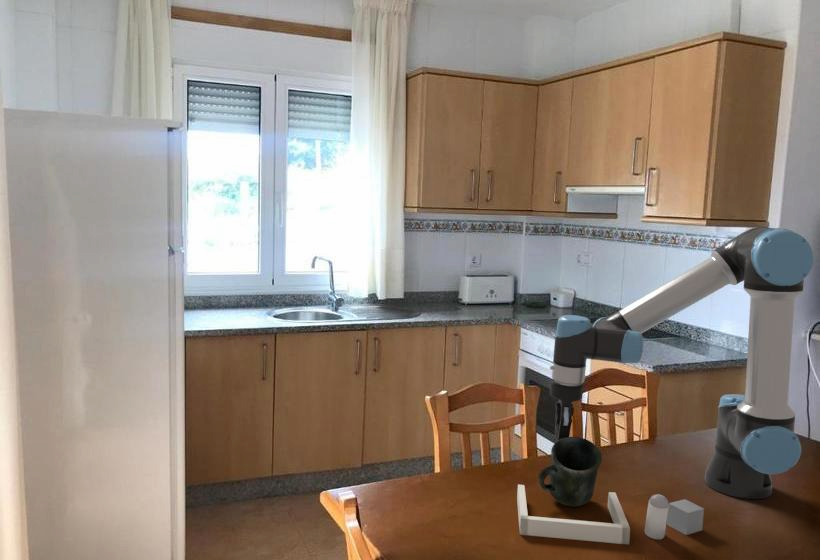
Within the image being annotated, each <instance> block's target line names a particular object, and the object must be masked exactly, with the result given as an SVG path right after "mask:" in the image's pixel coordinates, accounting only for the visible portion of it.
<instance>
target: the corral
mask: <svg viewBox="0 0 820 560" xmlns="http://www.w3.org/2000/svg"><path fill="white" fill-rule="evenodd" d="M516 491H517V494H516V495H517V496H516V501H517V503H516V504H517V513H518V514H517V515H518V516H517V517H518V525H519V527H518V528H519V529H518V530H519V535H521V536H529V537H530V536H531V537H540V538H541V537H544V538H554V539H563V540H564V539H565V540H574V541H575V540H576V541H587V542H597V543H607V544H609V543H610V544H618V545H630V537H631V536H630V535H631V527H630V524H629V522H628V520H627V517H626V515H625V512H624V510H623V507H622V505H621V503H620V501H619V498H618V496H617V493H616V491H615V492H614V491H613V492H611V491H608V496H607V506H606V507H607V509H608V511H609V514H610V517H611V520H612V522H613V523H611V522H602V521H601V522H600V521H589V520H579V519H566V518H557V517H554V518H553V517H546V516H543V517H542V516H533V515H531V516H530V515H528V507H527V506H528V505H527V498H526V495H527V494H526V487H525V485H524V484H517V490H516Z"/></svg>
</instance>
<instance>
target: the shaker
mask: <svg viewBox="0 0 820 560" xmlns="http://www.w3.org/2000/svg"><path fill="white" fill-rule="evenodd" d="M668 509H669V500H668V499H667V497H665V496H664V495H662V494H658V493H657V494H653V495H651V497H650V498H649V500H648V503H647V511H646V516H645V517H646V519H645V526H644V534H645V535H646V536H647V537H649V538H651V539H653V540H662V539H664V538H665V535H666V529H667V518H668Z"/></svg>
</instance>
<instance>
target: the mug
mask: <svg viewBox="0 0 820 560" xmlns="http://www.w3.org/2000/svg"><path fill="white" fill-rule="evenodd" d="M550 454H551V457H552V458H551V465H548V466H547V467H544V468H543V469H542V470H541V471H540V472H539V474H538V483H539V485H540V487H541V488H542V490H544V491H546V492H549V494H550V495H551V497H552V498H553V499H554V500H555V501H556V502H557V503H559V504H561V505H564V506H567V507H580V506H583V505H585V504H587V503H588V502H590V501H591V499H592V498H593V496H594V490H595V486H596V480H597V476H598V471H599V467H600V466H601V464H602V461H603V455H602V452H601V450H600V448H599V447H598V446H597V445H596V444H595V443H593V442H592V441H590V440H589V439H586V438H582V437H580V436H579V437H578V436H569V437H566V438H562V439H560V440H558V441H557V442H556V443H555V442H554V444H552V447H551V450H550ZM547 477H549V479H548V483H546V484H545V480H546V479H547Z"/></svg>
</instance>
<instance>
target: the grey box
mask: <svg viewBox="0 0 820 560" xmlns="http://www.w3.org/2000/svg"><path fill="white" fill-rule="evenodd" d="M668 505H669V509H668V516H667V523H666V526H669V527H670V528H672V529H674V530H676V531H678V532H680V533H681V534H683V535H685V536H689V535H691V534H695V533H697V532H701V531H703V523H704V513H705V512H704V511H705V508H704V507H702V506H700V505H698V504H695V503H693V502H691V501H689V500H688V499H684V498H683V499H680V500H676V501H673V502H668Z"/></svg>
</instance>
